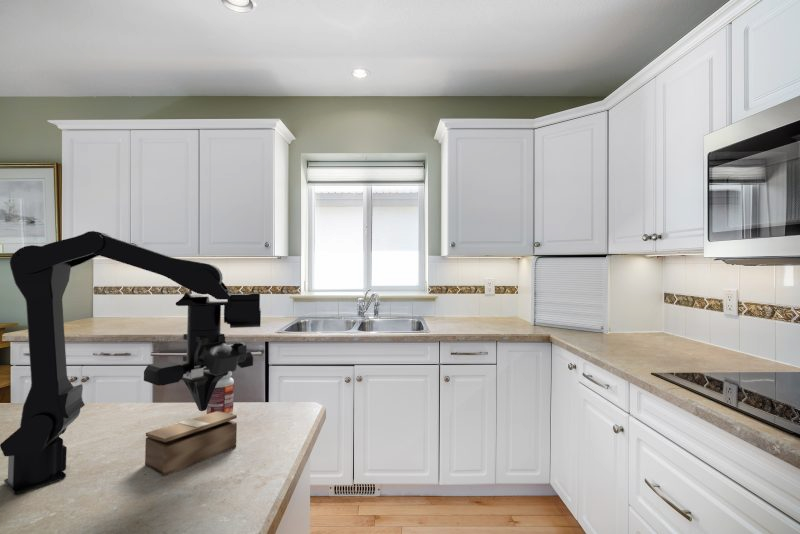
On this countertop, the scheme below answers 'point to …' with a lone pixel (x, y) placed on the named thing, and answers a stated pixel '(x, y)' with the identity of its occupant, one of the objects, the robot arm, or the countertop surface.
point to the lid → (190, 426)
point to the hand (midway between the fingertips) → (202, 410)
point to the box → (189, 448)
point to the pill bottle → (222, 396)
